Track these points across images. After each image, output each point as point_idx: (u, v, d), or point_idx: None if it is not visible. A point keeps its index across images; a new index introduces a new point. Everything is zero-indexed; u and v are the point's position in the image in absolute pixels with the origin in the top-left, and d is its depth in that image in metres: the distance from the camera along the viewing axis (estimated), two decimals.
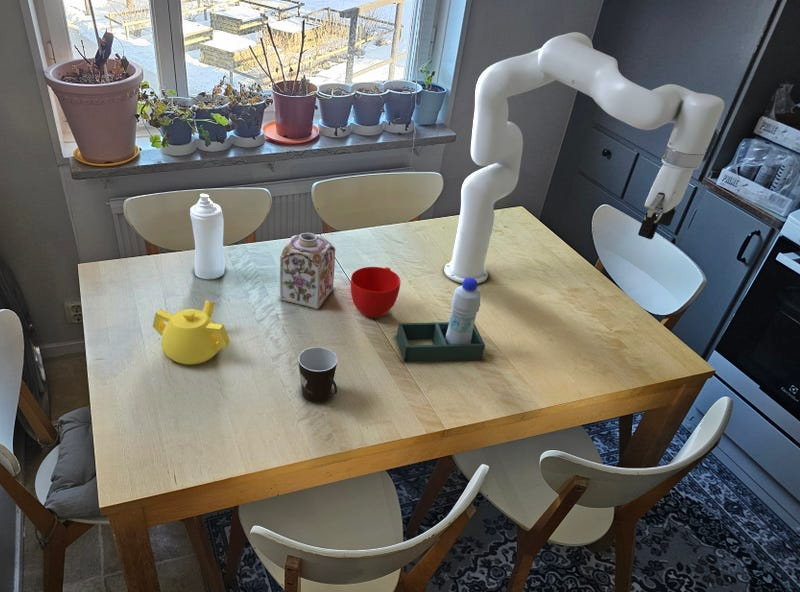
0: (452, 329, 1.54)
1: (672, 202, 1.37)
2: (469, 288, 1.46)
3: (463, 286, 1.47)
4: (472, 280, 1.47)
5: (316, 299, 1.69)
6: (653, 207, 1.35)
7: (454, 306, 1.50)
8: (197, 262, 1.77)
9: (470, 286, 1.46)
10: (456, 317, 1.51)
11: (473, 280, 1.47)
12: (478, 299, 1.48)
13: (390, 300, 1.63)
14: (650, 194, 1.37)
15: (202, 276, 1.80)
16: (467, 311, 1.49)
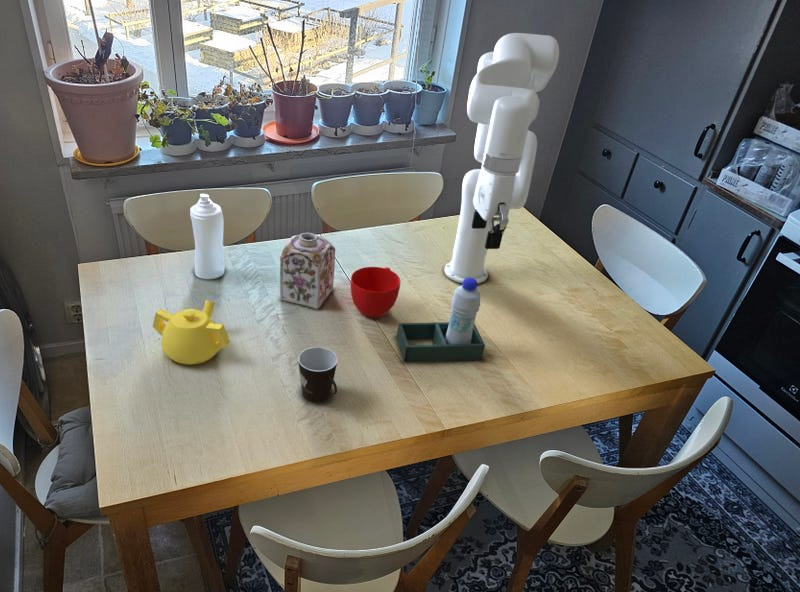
0: (452, 329, 1.54)
1: None
2: (469, 288, 1.46)
3: (463, 286, 1.47)
4: (472, 280, 1.47)
5: (316, 299, 1.69)
6: (507, 219, 1.29)
7: (454, 306, 1.50)
8: (197, 262, 1.77)
9: (470, 286, 1.46)
10: (456, 317, 1.51)
11: (473, 280, 1.47)
12: (478, 299, 1.48)
13: (390, 300, 1.63)
14: (491, 207, 1.30)
15: (202, 276, 1.80)
16: (467, 311, 1.49)
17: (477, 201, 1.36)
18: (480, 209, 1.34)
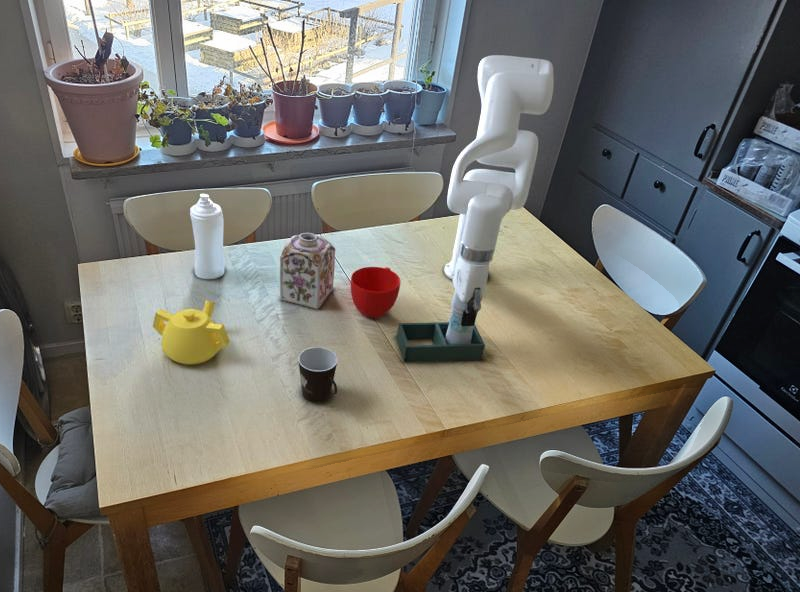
0: (452, 329, 1.54)
1: None
2: None
3: None
4: None
5: (316, 299, 1.69)
6: (479, 307, 1.42)
7: (454, 306, 1.50)
8: (197, 262, 1.77)
9: None
10: (456, 317, 1.51)
11: None
12: None
13: (390, 300, 1.63)
14: (467, 291, 1.43)
15: (202, 276, 1.80)
16: None
17: (456, 282, 1.49)
18: (458, 291, 1.47)
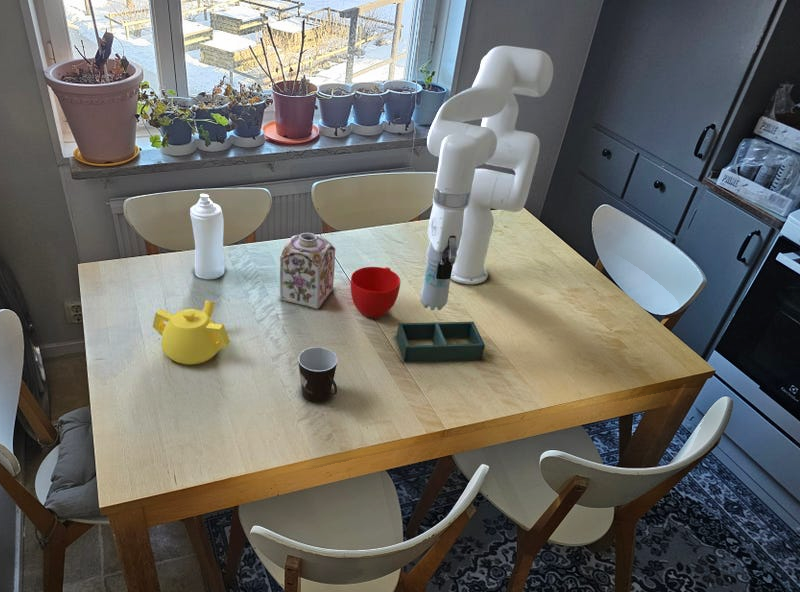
0: (427, 283, 1.45)
1: None
2: None
3: None
4: None
5: (316, 299, 1.69)
6: (455, 256, 1.34)
7: (429, 258, 1.41)
8: (197, 262, 1.77)
9: None
10: (431, 270, 1.42)
11: None
12: None
13: (390, 300, 1.63)
14: (442, 239, 1.34)
15: (202, 276, 1.80)
16: None
17: (430, 232, 1.40)
18: (433, 241, 1.38)
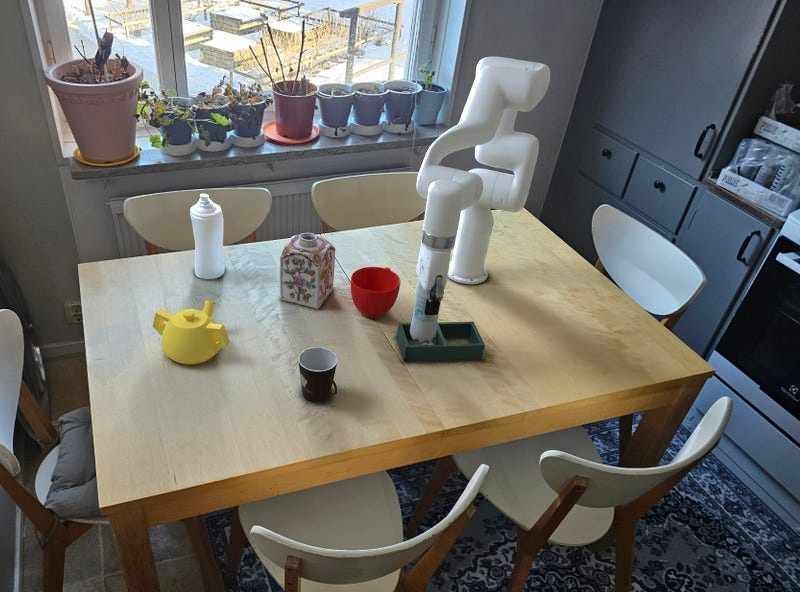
0: (416, 318, 1.51)
1: None
2: None
3: None
4: None
5: (316, 299, 1.69)
6: (441, 295, 1.39)
7: (417, 295, 1.47)
8: (197, 262, 1.77)
9: None
10: (419, 305, 1.48)
11: None
12: None
13: (390, 300, 1.63)
14: (429, 279, 1.40)
15: (202, 276, 1.80)
16: None
17: (419, 270, 1.46)
18: (421, 279, 1.44)
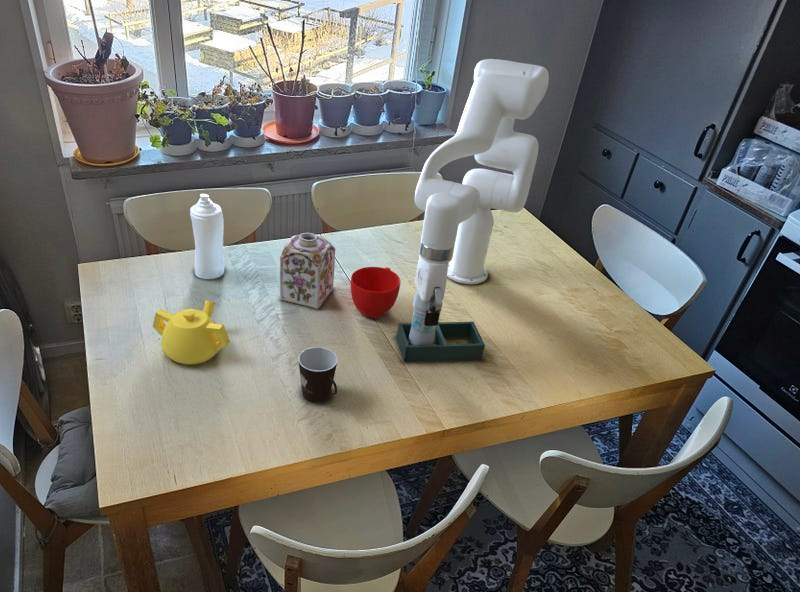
0: (414, 330, 1.53)
1: None
2: None
3: None
4: None
5: (316, 299, 1.69)
6: (441, 303, 1.40)
7: (415, 307, 1.49)
8: (197, 262, 1.77)
9: None
10: (417, 317, 1.50)
11: None
12: None
13: (390, 300, 1.63)
14: (427, 290, 1.42)
15: (202, 276, 1.80)
16: None
17: (417, 282, 1.48)
18: (419, 290, 1.46)
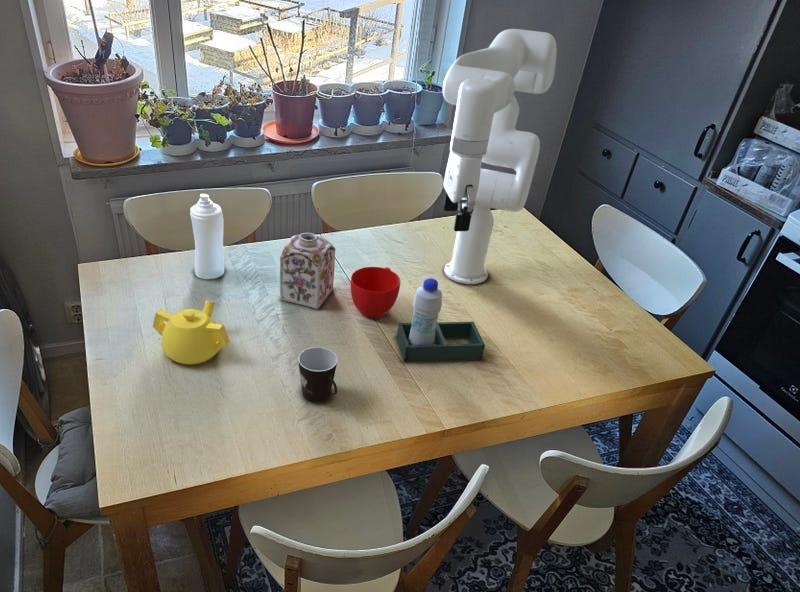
0: (414, 330, 1.53)
1: None
2: (429, 289, 1.46)
3: (424, 287, 1.47)
4: (432, 280, 1.46)
5: (316, 299, 1.69)
6: (473, 202, 1.29)
7: (415, 307, 1.49)
8: (197, 262, 1.77)
9: (430, 286, 1.45)
10: (417, 317, 1.50)
11: (433, 280, 1.46)
12: (439, 300, 1.47)
13: (390, 300, 1.63)
14: (459, 189, 1.31)
15: (202, 276, 1.80)
16: (428, 312, 1.48)
17: (447, 183, 1.37)
18: (449, 191, 1.35)
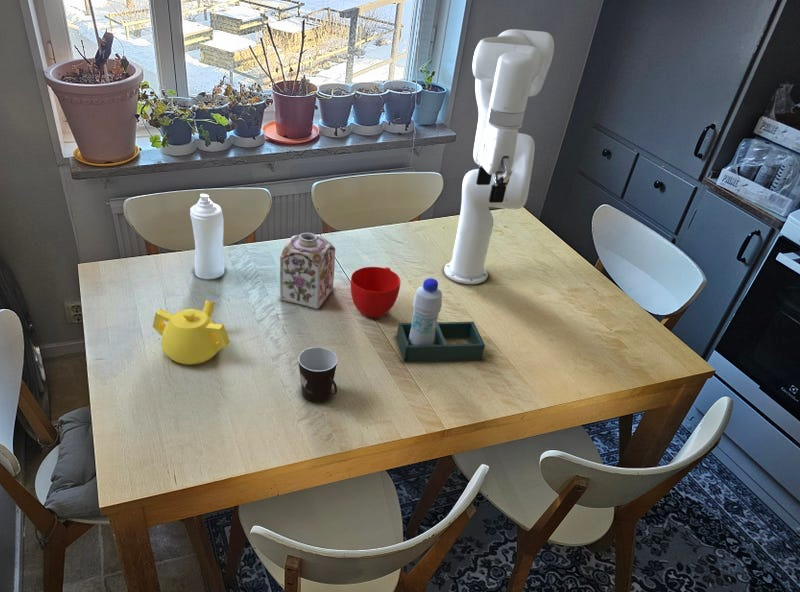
0: (414, 330, 1.53)
1: None
2: (429, 289, 1.46)
3: (424, 286, 1.47)
4: (432, 280, 1.46)
5: (316, 299, 1.69)
6: (510, 172, 1.34)
7: (415, 307, 1.49)
8: (197, 262, 1.77)
9: (430, 286, 1.45)
10: (417, 317, 1.50)
11: (433, 280, 1.46)
12: (439, 300, 1.47)
13: (390, 300, 1.63)
14: (495, 160, 1.36)
15: (202, 276, 1.80)
16: (428, 312, 1.48)
17: (482, 156, 1.42)
18: (485, 164, 1.40)
